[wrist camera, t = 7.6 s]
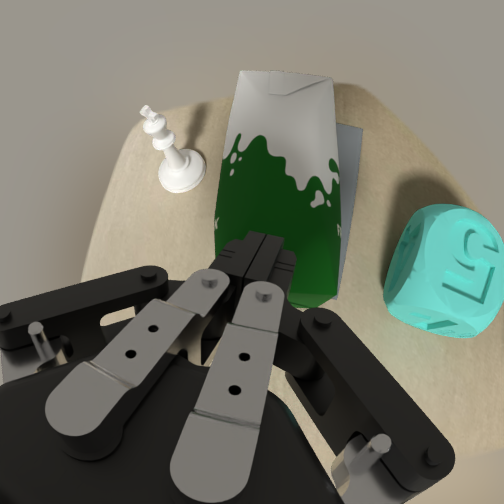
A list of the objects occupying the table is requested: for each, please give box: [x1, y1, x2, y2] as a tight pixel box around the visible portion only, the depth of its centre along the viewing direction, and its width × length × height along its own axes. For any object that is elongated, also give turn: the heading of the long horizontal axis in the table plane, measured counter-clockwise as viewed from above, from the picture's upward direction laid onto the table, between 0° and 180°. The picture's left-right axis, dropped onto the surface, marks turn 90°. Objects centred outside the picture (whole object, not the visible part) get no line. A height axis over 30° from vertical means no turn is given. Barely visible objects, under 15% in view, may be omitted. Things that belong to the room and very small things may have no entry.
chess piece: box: [140, 105, 206, 193], centre depth 26 cm, size 5×5×10 cm
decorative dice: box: [383, 204, 504, 338], centre depth 21 cm, size 8×8×8 cm
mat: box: [331, 123, 363, 300], centre depth 28 cm, size 10×18×1 cm, turn 165°
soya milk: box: [214, 70, 341, 308], centre depth 24 cm, size 9×9×20 cm
